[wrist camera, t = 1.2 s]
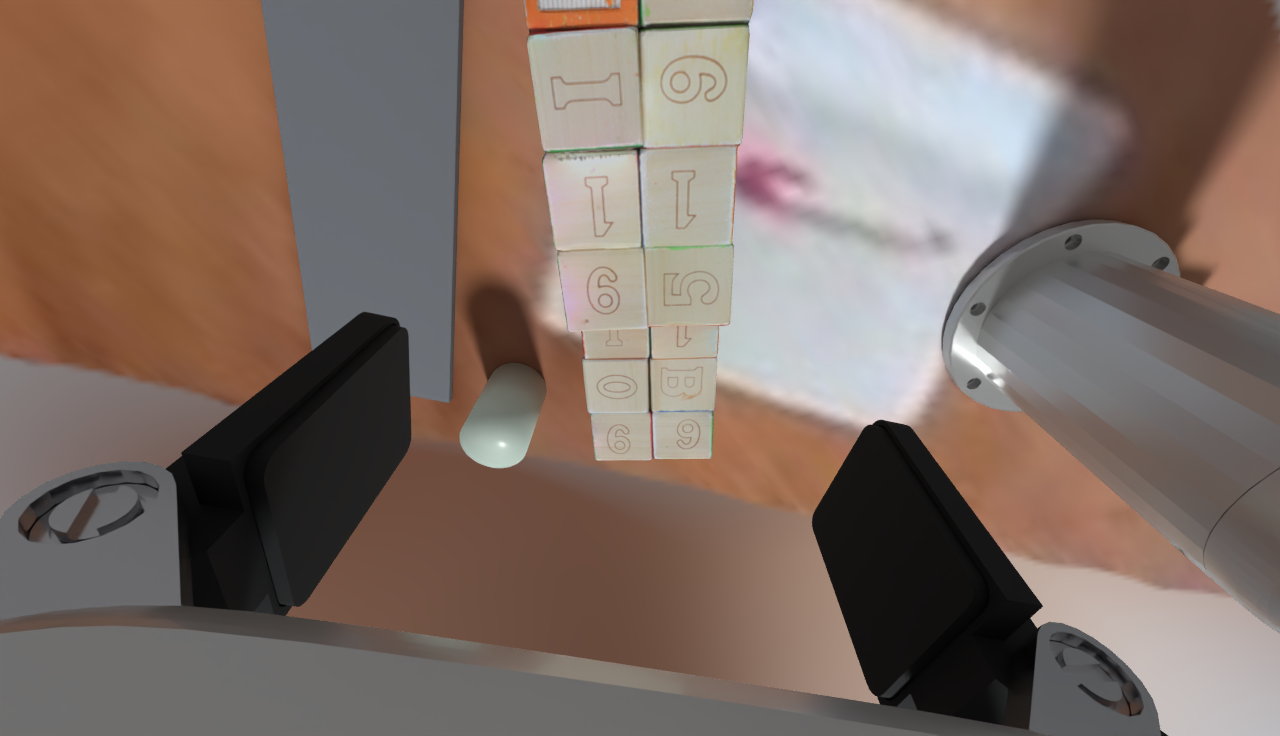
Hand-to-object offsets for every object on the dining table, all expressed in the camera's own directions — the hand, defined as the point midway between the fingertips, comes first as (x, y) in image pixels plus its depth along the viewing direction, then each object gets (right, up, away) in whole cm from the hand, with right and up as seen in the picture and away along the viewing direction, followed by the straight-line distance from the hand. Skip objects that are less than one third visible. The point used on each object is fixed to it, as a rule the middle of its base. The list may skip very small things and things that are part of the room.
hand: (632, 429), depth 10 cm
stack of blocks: (+1, +10, +18) cm, 21 cm away
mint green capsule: (-8, 0, +24) cm, 25 cm away
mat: (-15, +10, +18) cm, 25 cm away
